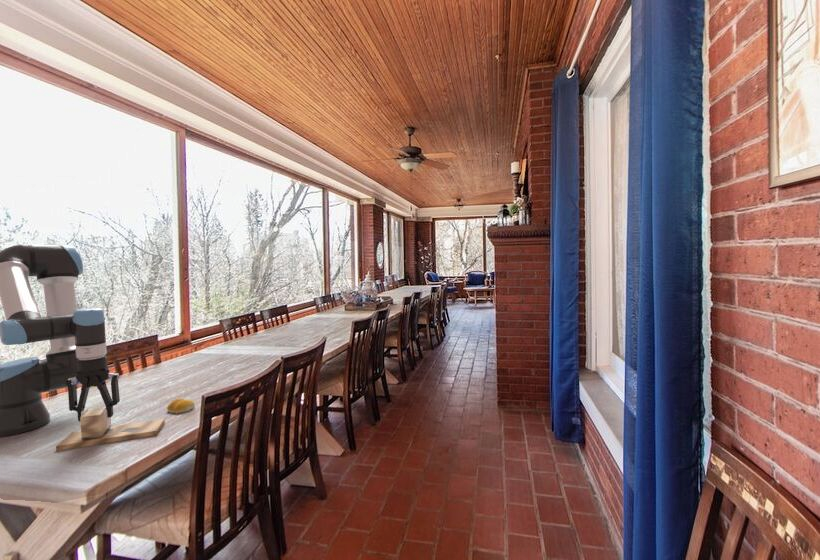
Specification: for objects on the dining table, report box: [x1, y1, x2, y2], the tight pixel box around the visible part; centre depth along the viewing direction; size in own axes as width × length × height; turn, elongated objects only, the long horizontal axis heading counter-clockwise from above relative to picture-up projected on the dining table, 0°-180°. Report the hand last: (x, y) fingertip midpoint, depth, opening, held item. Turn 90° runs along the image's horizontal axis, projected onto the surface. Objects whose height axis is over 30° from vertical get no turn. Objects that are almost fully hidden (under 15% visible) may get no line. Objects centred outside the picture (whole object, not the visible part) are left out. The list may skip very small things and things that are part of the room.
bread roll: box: [166, 398, 195, 414], centre depth 145 cm, size 8×9×4 cm
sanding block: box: [79, 405, 112, 439], centre depth 122 cm, size 5×8×7 cm, turn 20°
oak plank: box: [55, 418, 166, 452], centre depth 124 cm, size 26×10×2 cm, turn 111°
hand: (96, 428), depth 122 cm, fingers closed on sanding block, 5 cm apart
